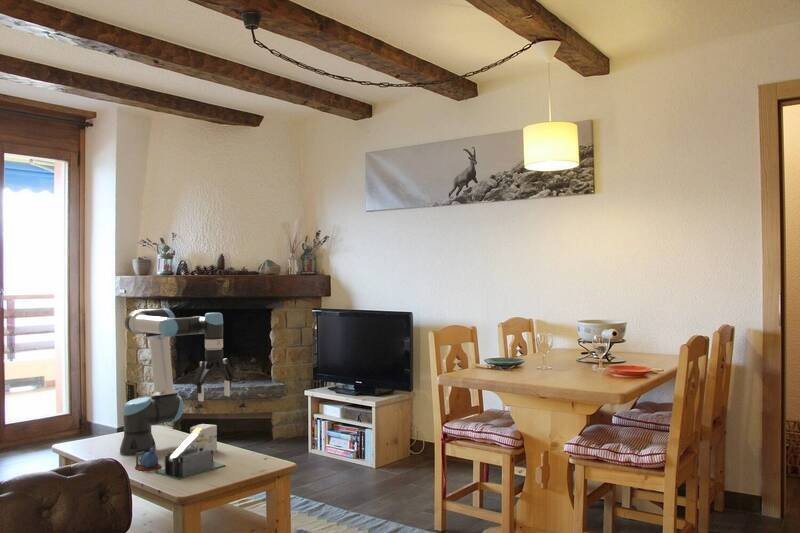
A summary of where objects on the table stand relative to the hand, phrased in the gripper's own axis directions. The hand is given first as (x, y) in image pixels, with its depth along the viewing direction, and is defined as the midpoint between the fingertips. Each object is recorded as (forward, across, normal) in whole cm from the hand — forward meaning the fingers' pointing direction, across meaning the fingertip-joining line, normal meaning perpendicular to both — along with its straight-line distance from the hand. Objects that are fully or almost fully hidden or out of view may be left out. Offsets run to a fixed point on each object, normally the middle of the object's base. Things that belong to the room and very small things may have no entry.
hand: (214, 398), depth 281 cm
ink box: (+27, +6, +15) cm, 31 cm away
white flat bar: (+16, -18, -5) cm, 24 cm away
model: (+27, -23, +14) cm, 38 cm away
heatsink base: (+26, -15, -4) cm, 30 cm away
